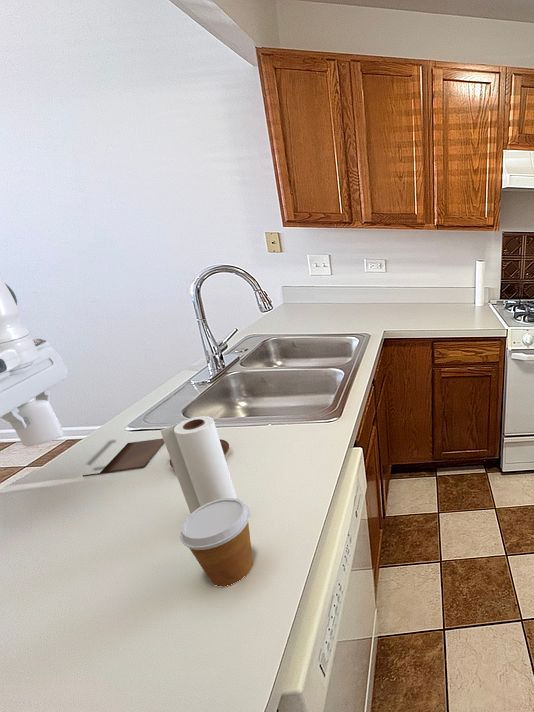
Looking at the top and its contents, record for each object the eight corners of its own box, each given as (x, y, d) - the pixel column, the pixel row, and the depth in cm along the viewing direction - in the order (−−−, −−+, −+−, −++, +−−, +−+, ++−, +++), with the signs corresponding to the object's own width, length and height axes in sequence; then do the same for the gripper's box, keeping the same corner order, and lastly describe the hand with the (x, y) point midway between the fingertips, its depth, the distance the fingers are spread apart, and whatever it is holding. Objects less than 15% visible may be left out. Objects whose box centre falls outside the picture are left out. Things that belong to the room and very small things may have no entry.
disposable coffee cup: (190, 603, 62) (166, 547, 58) (209, 554, 71) (190, 502, 66) (256, 588, 65) (239, 533, 60) (268, 542, 73) (253, 491, 68)
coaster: (82, 476, 90) (81, 474, 90) (112, 446, 101) (111, 444, 100) (144, 468, 93) (143, 466, 93) (167, 439, 104) (166, 437, 103)
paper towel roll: (247, 507, 81) (221, 417, 73) (222, 529, 76) (191, 435, 68) (219, 500, 83) (191, 412, 75) (193, 521, 78) (159, 428, 70)
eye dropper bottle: (35, 435, 80) (8, 382, 75) (69, 431, 81) (44, 379, 77) (18, 448, 76) (-12, 392, 71) (54, 443, 77) (27, 389, 73)
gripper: (25, 336, 80) (53, 396, 86) (-79, 379, 62) (-35, 452, 67) (63, 334, 82) (88, 393, 87) (-29, 375, 63) (11, 447, 69)
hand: (34, 419), depth 77 cm, fingers closed on eye dropper bottle, 4 cm apart
